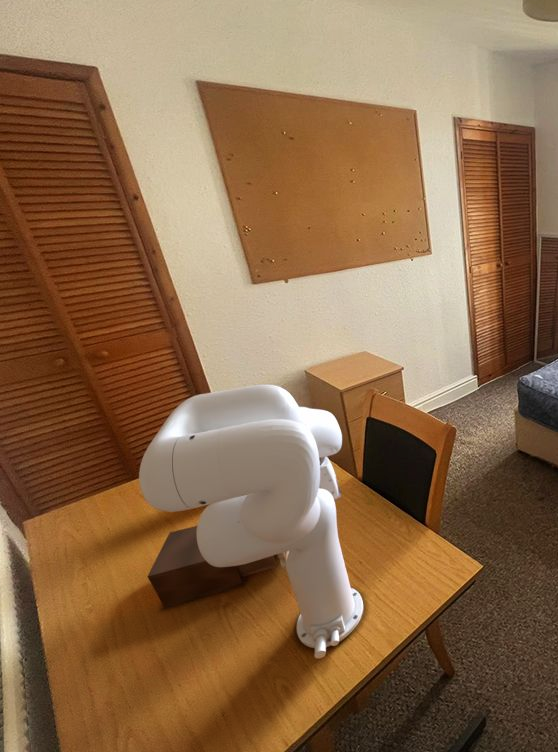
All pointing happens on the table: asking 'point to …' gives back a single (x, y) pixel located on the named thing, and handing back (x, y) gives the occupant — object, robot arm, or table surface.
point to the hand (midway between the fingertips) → (322, 520)
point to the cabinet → (188, 571)
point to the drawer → (263, 564)
